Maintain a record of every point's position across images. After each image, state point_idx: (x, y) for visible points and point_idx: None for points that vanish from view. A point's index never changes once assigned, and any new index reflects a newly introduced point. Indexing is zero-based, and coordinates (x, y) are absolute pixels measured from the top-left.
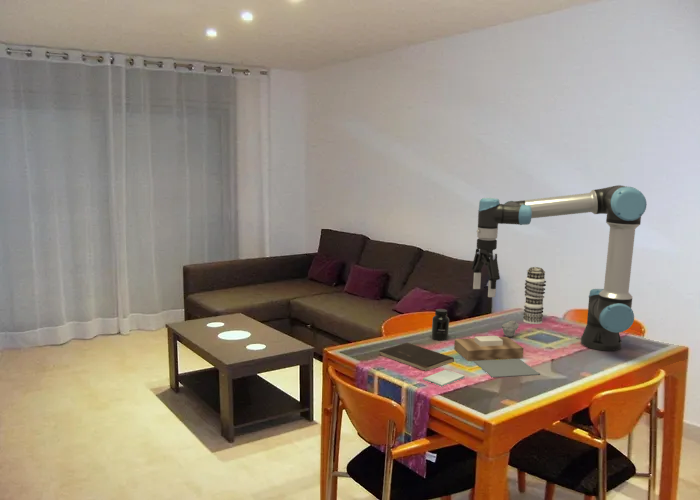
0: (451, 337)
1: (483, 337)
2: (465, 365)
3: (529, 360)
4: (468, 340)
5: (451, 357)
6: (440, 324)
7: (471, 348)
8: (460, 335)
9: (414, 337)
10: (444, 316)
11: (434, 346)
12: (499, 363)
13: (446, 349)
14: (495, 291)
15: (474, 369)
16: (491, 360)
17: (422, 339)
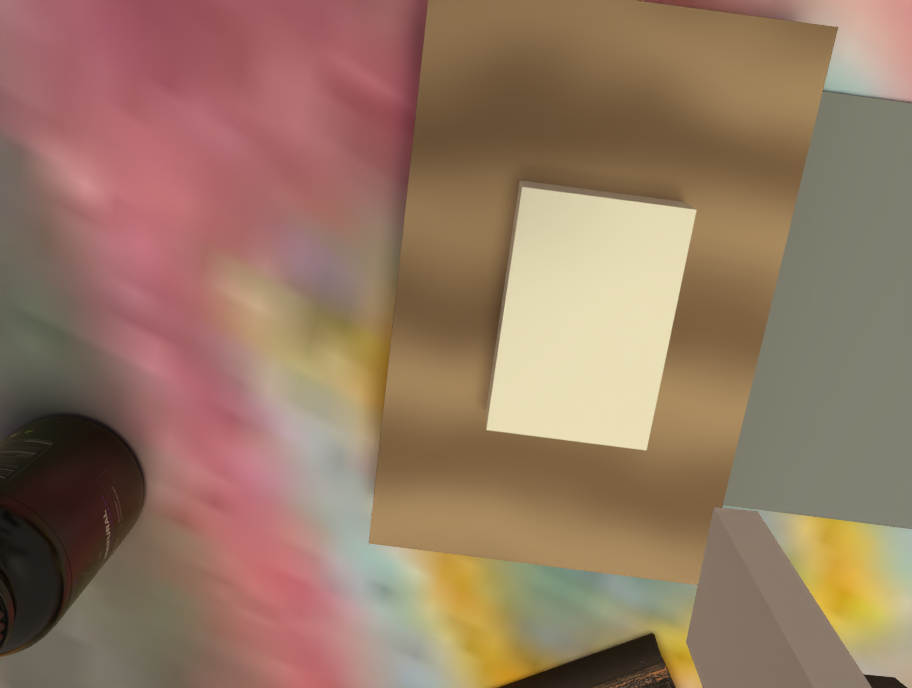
0: (64, 371)
1: (540, 358)
2: None
3: (874, 4)
4: (438, 444)
5: (661, 676)
6: (78, 595)
7: (659, 531)
8: (14, 259)
9: (21, 657)
10: (7, 590)
11: (278, 611)
12: (847, 338)
13: (372, 558)
14: (800, 583)
15: (859, 574)
16: (759, 364)
17: (83, 622)
